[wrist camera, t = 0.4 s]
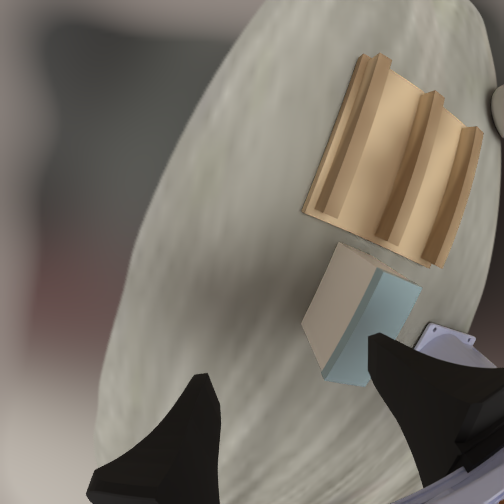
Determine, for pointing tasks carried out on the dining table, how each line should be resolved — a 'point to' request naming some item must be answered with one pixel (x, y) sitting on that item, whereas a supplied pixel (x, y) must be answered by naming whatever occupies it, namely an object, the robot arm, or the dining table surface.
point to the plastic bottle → (498, 109)
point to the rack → (396, 166)
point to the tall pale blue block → (355, 312)
